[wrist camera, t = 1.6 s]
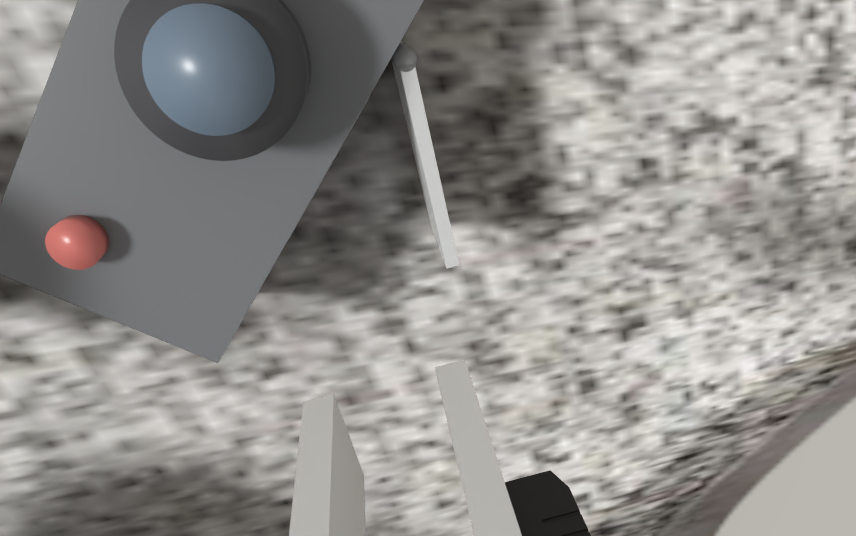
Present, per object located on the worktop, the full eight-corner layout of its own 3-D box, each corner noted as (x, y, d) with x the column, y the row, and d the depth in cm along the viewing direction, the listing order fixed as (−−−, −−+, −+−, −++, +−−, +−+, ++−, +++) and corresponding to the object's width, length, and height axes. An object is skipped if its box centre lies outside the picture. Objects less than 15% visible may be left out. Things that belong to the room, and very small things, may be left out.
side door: (444, 222, 32) (462, 264, 27) (428, 226, 32) (443, 269, 27) (402, 36, 28) (414, 44, 22) (383, 41, 28) (391, 50, 22)
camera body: (246, 294, 33) (208, 406, 24) (56, 208, 29) (-72, 300, 20) (414, -6, 27) (447, -7, 18) (205, -152, 24) (121, -240, 15)
